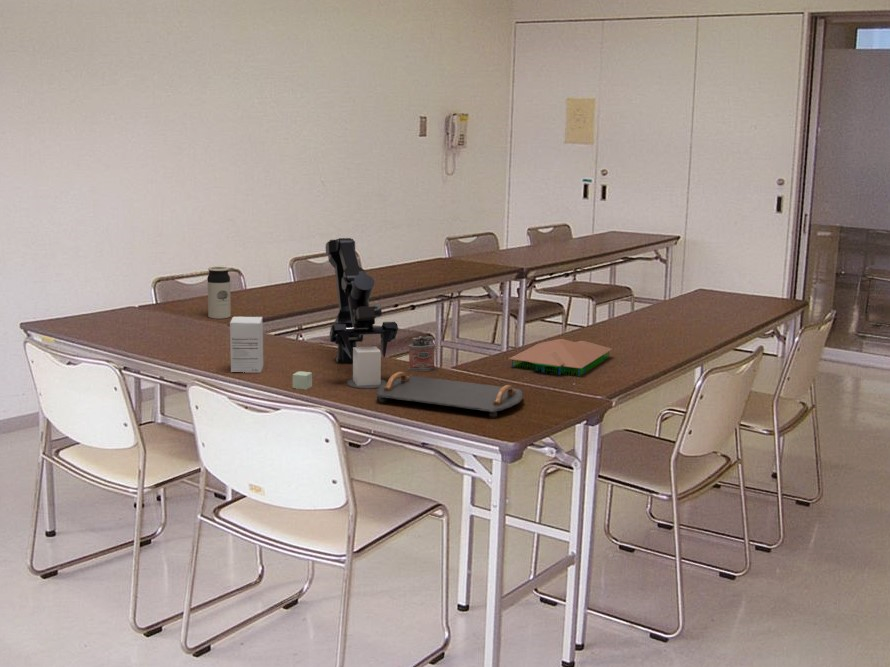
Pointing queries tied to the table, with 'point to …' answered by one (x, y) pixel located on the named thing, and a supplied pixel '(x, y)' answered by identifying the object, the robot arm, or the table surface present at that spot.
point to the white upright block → (366, 366)
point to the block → (302, 380)
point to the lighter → (421, 354)
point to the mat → (353, 384)
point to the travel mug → (219, 293)
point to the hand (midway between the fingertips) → (368, 357)
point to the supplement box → (246, 344)
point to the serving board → (449, 393)
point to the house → (563, 355)
